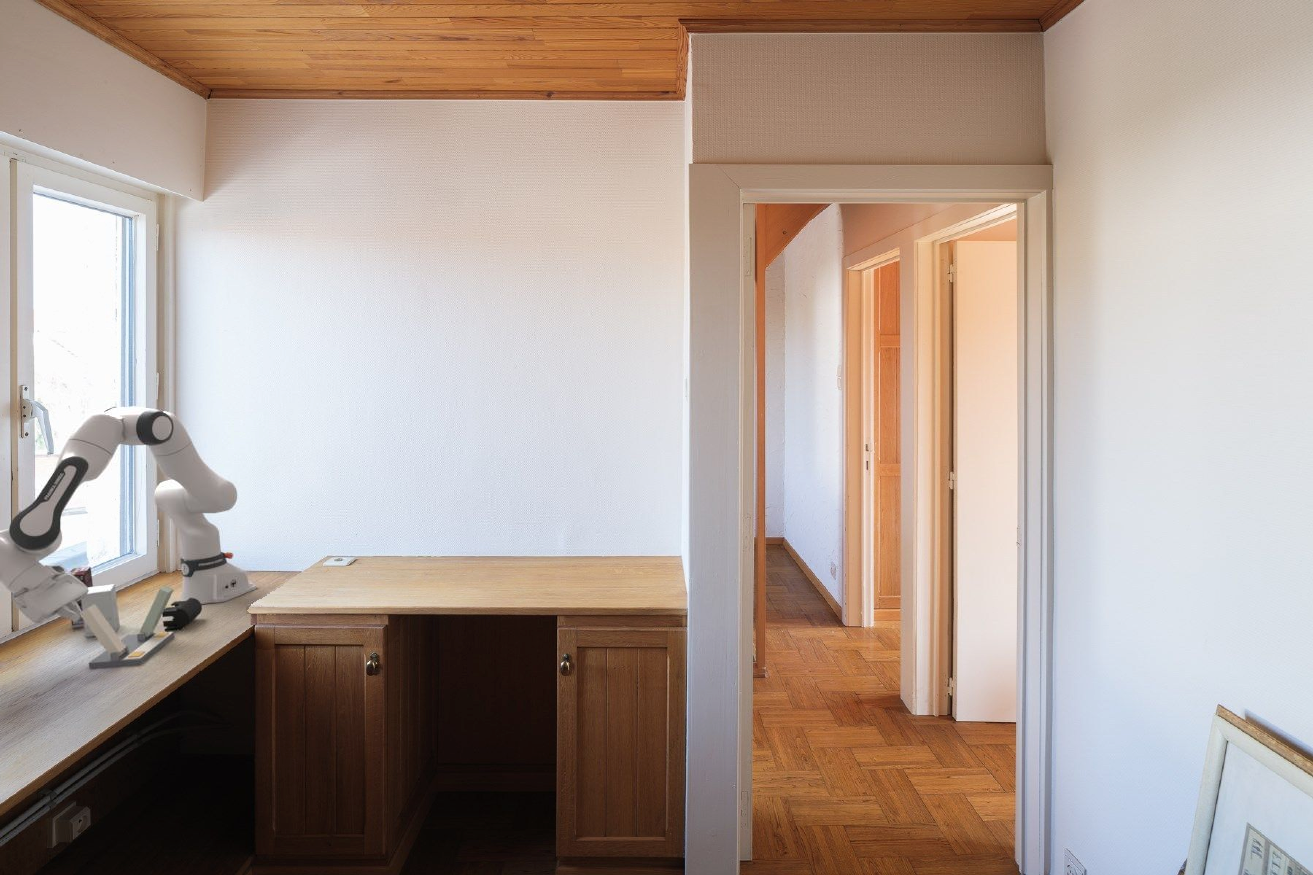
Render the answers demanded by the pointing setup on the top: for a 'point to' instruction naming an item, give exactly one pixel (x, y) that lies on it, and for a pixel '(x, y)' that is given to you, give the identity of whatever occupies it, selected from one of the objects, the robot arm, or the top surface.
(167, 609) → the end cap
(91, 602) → the supplement box
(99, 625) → the bar
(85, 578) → the supplement box
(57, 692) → the top surface
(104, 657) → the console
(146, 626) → the bar
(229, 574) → the robot arm
